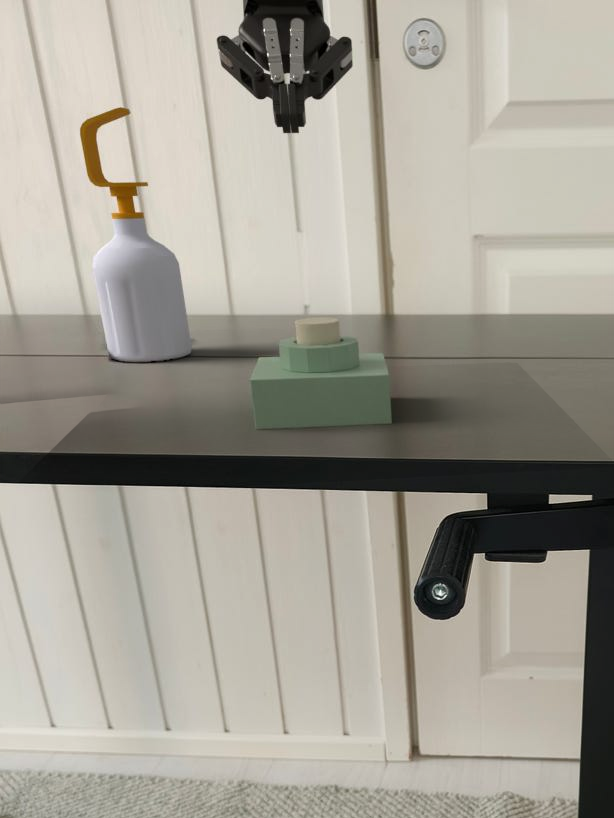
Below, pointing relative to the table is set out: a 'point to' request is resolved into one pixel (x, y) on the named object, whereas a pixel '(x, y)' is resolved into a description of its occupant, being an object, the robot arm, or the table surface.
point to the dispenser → (320, 386)
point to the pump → (317, 331)
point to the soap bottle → (135, 273)
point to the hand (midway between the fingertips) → (290, 125)
